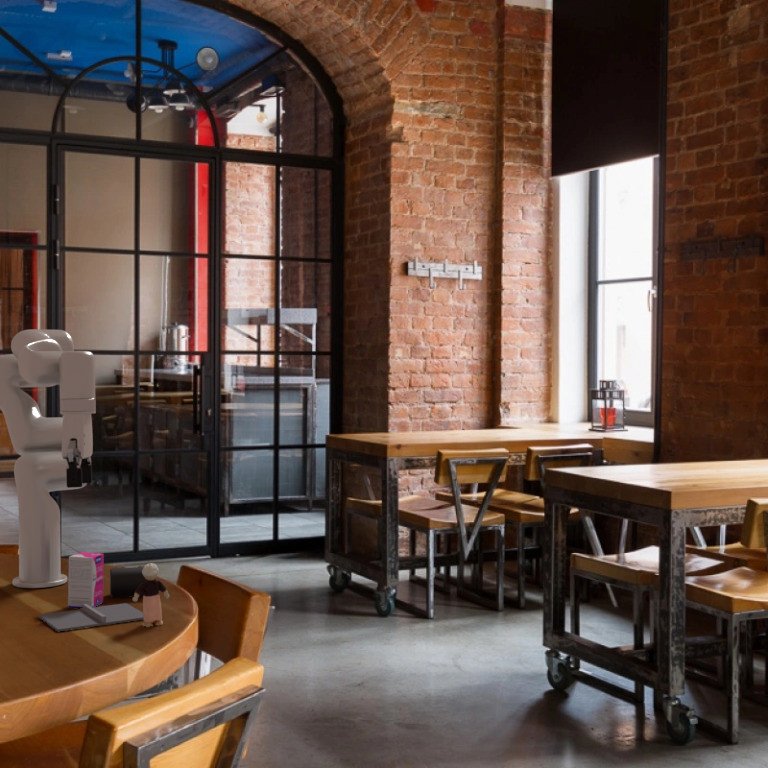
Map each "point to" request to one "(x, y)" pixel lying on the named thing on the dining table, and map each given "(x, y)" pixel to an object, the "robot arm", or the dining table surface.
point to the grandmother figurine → (151, 596)
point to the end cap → (125, 581)
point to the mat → (91, 616)
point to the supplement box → (85, 579)
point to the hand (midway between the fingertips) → (79, 485)
